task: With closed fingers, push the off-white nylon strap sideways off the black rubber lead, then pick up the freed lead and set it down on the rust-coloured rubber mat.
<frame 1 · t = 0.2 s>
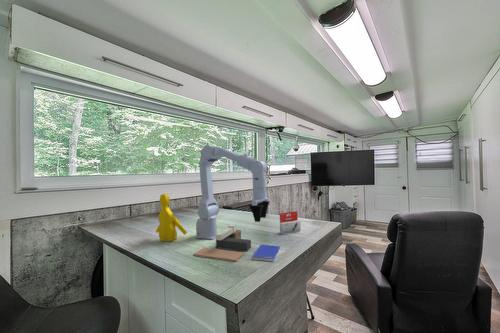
hand: (260, 219, 93), 10 cm above the worktop, tool pointing down, fingers open, 7 cm apart
ink cartridge box: (290, 232, 107), on the worktop
hard drive: (266, 255, 81), on the worktop
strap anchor: (233, 240, 97), on the worktop
figure statuette: (168, 240, 101), on the worktop
lead: (233, 248, 88), on the worktop
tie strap: (226, 231, 91), point 6 cm above the worktop, slide at 0.0 cm
mat: (218, 254, 81), on the worktop
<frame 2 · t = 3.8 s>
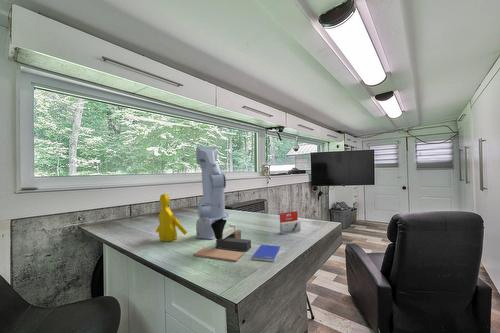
hand: (218, 238, 85), 5 cm above the worktop, tool pointing down, fingers closed
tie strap: (227, 231, 92), point 6 cm above the worktop, slide at 1.3 cm, touching gripper
everything else where it was.
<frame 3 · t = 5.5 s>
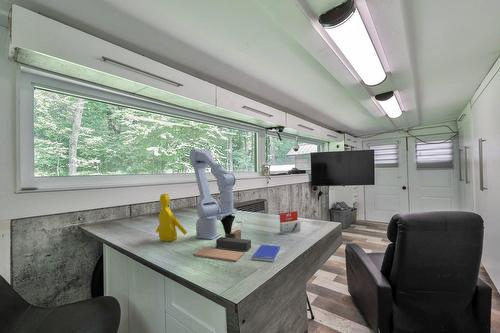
hand: (227, 233, 92), 5 cm above the worktop, tool pointing down, fingers closed
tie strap: (235, 226, 99), point 6 cm above the worktop, slide at 9.0 cm, touching gripper
everything else where it was.
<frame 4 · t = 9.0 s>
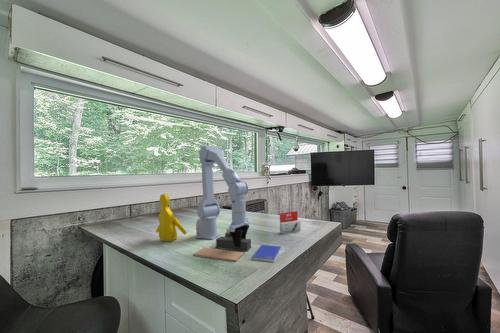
hand: (239, 244, 87), 1 cm above the worktop, tool pointing down, fingers closed on lead, 4 cm apart
lead: (233, 247, 88), on the worktop, touching gripper
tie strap: (235, 226, 99), point 6 cm above the worktop, slide at 9.1 cm
everything else where it was.
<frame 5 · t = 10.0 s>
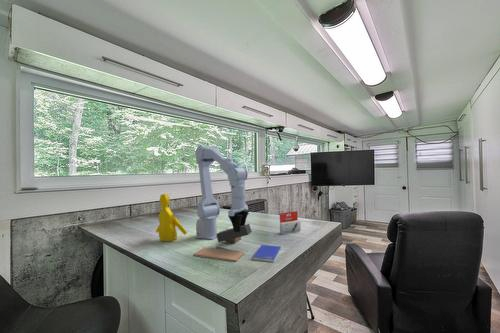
hand: (239, 230, 87), 7 cm above the worktop, tool pointing down, fingers closed on lead, 4 cm apart
lead: (235, 237, 88), point 4 cm above the worktop, tilted 17°, touching gripper
everything else where it was.
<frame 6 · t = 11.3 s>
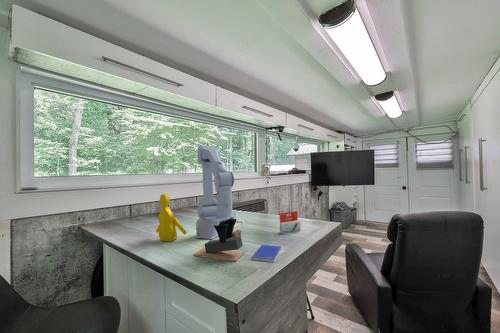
hand: (225, 240, 80), 6 cm above the worktop, tool pointing down, fingers closed on lead, 4 cm apart
lead: (224, 249, 81), point 2 cm above the worktop, tilted 12°, touching gripper
everything else where it was.
when the fingers open (3 cm above the worktop, at t = 12.1 s): lead stays where it is, resting on mat.
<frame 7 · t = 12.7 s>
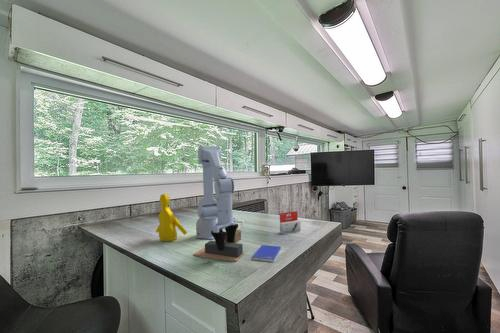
hand: (226, 246, 80), 3 cm above the worktop, tool pointing down, fingers open, 7 cm apart
lead: (223, 253, 81), point 1 cm above the worktop, touching mat
everything else where it was.
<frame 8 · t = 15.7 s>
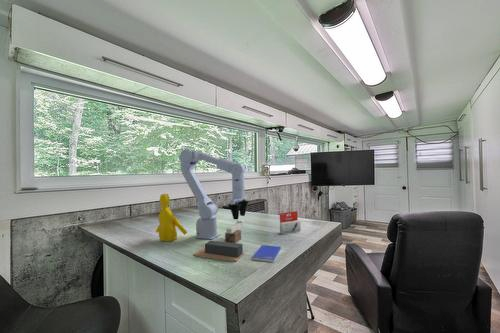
hand: (239, 217, 101), 9 cm above the worktop, tool pointing down, fingers open, 7 cm apart
nothing on the worktop moved.
at the end: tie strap slide at 9.1 cm; lead inside the target area on the mat (2.0 cm from its centre), point 0.6 cm above the mat's base; the gripper is holding nothing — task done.
